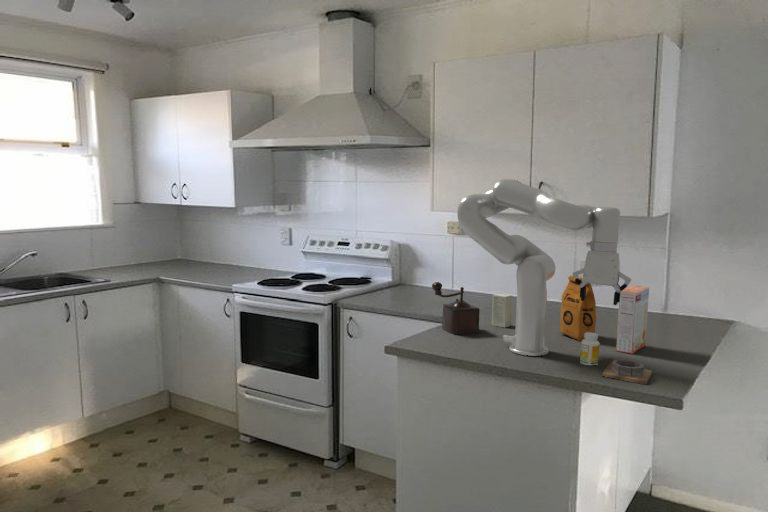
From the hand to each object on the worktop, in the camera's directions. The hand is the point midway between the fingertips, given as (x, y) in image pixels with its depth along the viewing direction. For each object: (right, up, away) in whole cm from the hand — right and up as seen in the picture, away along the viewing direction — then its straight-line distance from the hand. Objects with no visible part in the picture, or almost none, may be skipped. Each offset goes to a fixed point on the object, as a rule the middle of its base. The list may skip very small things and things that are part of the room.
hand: (599, 302), depth 191 cm
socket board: (+5, -21, -10) cm, 23 cm away
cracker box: (+17, -18, +20) cm, 32 cm away
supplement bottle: (-3, -19, 0) cm, 20 cm away
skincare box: (-21, -13, +48) cm, 54 cm away
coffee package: (+4, -15, +33) cm, 37 cm away
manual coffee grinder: (-41, -14, +37) cm, 57 cm away
